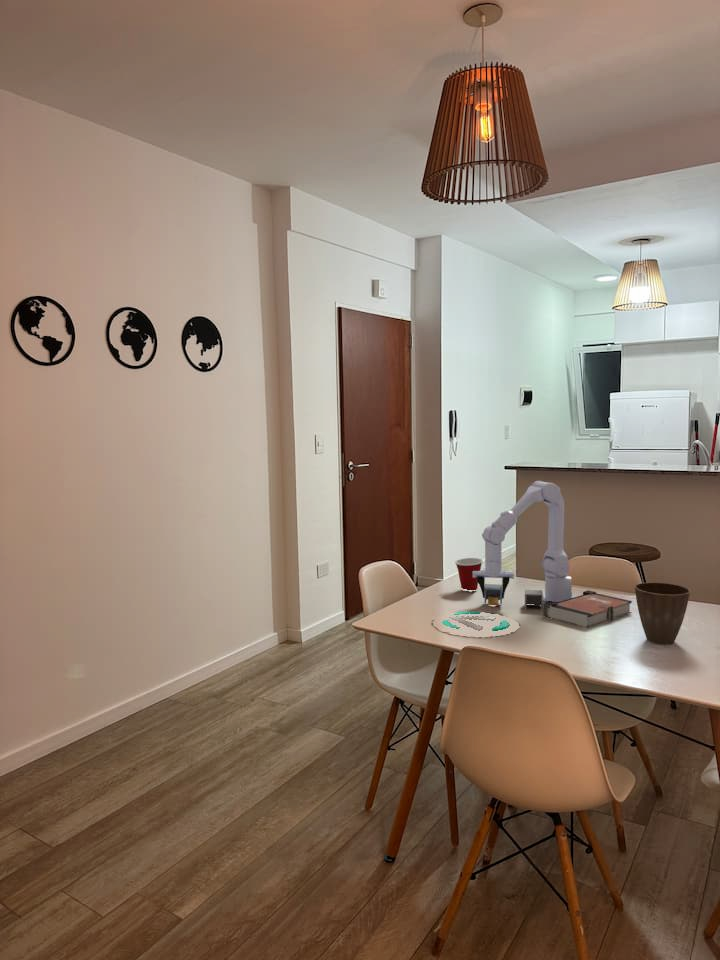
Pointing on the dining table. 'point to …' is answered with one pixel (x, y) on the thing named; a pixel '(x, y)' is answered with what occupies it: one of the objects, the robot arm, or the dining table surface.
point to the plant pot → (661, 610)
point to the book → (587, 609)
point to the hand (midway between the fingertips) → (493, 597)
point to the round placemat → (503, 624)
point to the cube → (493, 600)
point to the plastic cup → (468, 572)
